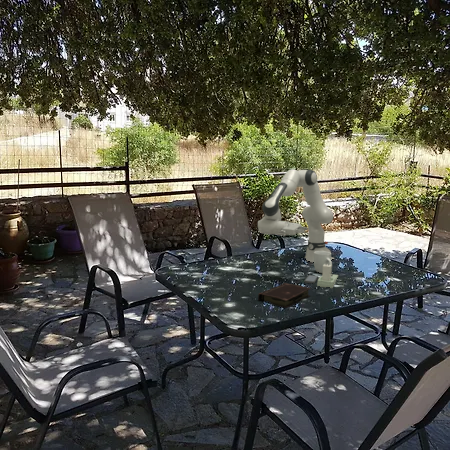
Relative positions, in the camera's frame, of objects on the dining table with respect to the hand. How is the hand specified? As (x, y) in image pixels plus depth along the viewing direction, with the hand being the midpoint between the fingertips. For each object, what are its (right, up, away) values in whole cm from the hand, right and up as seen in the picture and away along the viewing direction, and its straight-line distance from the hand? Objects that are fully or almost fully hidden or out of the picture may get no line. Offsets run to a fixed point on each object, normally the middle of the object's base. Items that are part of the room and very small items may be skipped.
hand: (305, 230), depth 265 cm
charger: (+12, -31, -1) cm, 33 cm away
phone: (+5, -31, +8) cm, 33 cm away
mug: (+16, -28, +26) cm, 41 cm away
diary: (-16, -37, -24) cm, 47 cm away
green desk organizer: (+14, -32, +5) cm, 35 cm away
